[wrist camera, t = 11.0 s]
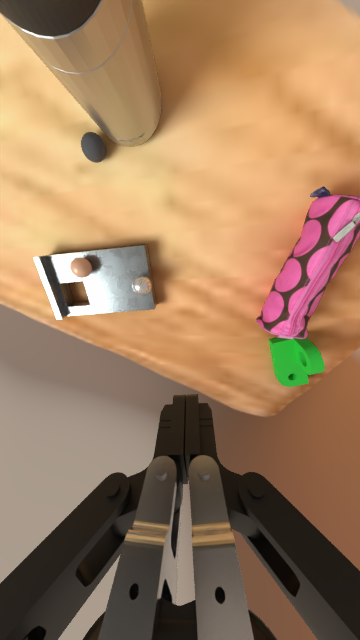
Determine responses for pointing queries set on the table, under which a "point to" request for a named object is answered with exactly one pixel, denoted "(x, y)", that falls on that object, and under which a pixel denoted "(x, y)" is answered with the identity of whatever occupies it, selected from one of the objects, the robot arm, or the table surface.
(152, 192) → the table surface
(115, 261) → the grey ball holder tray
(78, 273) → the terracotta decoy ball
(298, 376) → the mechanical part
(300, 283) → the pencil case
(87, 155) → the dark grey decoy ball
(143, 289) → the steel ball
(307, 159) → the table surface
